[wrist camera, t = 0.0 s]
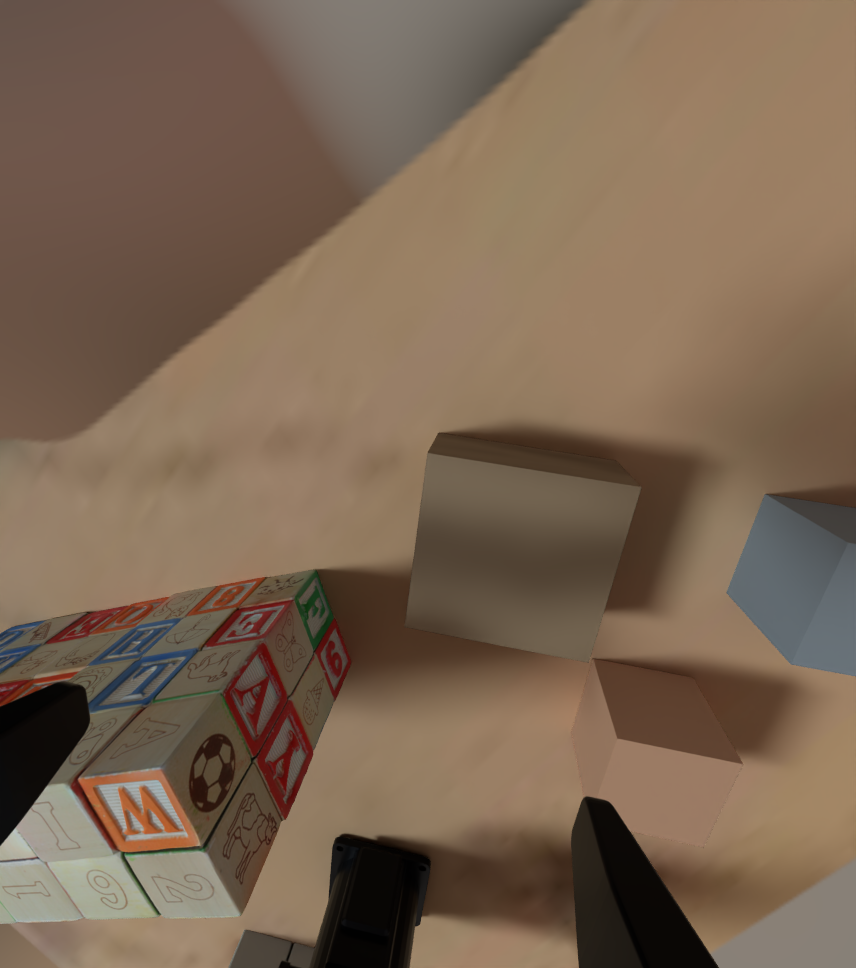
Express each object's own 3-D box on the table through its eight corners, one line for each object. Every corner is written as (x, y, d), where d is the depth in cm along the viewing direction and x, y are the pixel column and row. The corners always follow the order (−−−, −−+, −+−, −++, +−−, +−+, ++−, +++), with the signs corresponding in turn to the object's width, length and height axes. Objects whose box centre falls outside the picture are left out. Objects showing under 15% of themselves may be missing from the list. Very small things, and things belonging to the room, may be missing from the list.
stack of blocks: (59, 703, 30) (-210, 932, 19) (12, 624, 29) (-317, 821, 17) (355, 661, 26) (241, 928, 14) (319, 564, 24) (157, 776, 13)
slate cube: (838, 611, 21) (938, 691, 16) (725, 592, 21) (790, 664, 17) (887, 512, 19) (1013, 569, 15) (763, 493, 20) (848, 542, 15)
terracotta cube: (663, 749, 25) (703, 847, 20) (570, 730, 25) (588, 822, 20) (692, 676, 23) (743, 764, 18) (592, 657, 24) (617, 738, 19)
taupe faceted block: (573, 609, 23) (588, 662, 19) (418, 580, 24) (404, 627, 20) (614, 458, 20) (641, 487, 17) (439, 431, 21) (427, 452, 17)
